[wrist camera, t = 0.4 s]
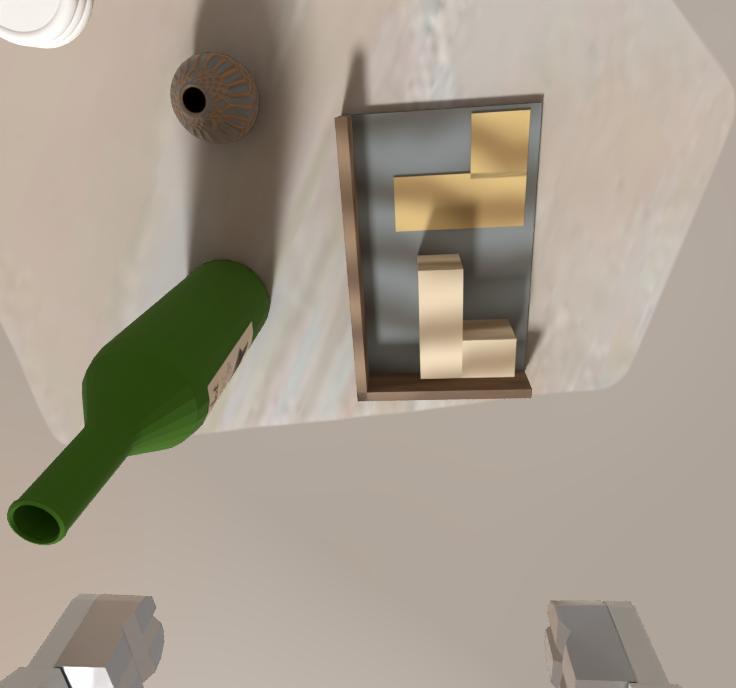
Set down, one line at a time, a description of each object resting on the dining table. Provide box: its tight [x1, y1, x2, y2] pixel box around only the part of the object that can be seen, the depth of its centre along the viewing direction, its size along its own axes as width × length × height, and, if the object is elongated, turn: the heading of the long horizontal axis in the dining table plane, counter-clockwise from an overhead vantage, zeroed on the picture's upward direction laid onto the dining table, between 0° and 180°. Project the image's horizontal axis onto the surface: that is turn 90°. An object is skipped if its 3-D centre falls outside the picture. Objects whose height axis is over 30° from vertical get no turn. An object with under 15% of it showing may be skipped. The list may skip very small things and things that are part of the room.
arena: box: [335, 103, 542, 401], centre depth 51 cm, size 27×18×5 cm, turn 4°
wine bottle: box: [7, 260, 269, 545], centre depth 42 cm, size 9×9×32 cm
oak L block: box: [417, 254, 517, 379], centre depth 52 cm, size 11×9×5 cm
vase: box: [170, 52, 259, 143], centre depth 44 cm, size 7×7×9 cm
